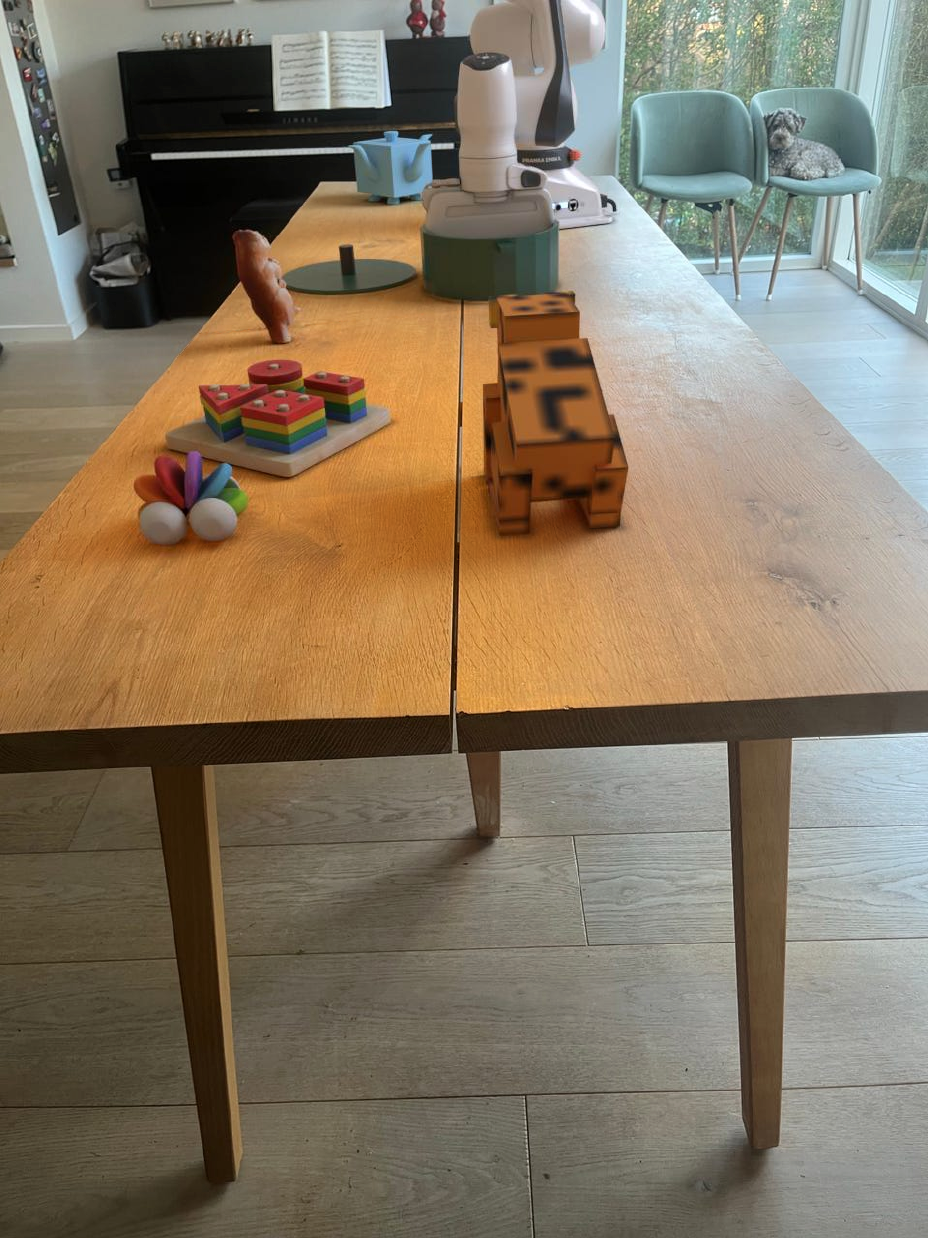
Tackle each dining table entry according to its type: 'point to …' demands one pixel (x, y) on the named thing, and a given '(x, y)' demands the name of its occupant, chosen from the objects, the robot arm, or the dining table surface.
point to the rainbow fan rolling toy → (188, 501)
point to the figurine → (264, 284)
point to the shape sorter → (280, 419)
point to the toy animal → (548, 416)
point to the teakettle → (393, 167)
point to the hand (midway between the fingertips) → (490, 269)
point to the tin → (490, 265)
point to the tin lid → (348, 275)
